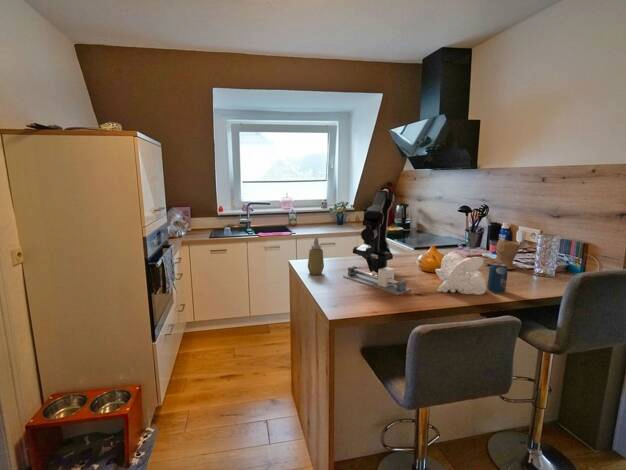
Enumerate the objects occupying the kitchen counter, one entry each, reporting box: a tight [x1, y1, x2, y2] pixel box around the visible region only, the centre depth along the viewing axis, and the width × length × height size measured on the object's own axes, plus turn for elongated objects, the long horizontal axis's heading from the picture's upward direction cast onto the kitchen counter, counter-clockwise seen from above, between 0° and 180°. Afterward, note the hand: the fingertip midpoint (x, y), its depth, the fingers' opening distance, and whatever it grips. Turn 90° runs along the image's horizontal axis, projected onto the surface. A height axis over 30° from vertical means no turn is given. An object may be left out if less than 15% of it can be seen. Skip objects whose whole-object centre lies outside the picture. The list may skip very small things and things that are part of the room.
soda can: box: [486, 262, 509, 294], centre depth 149 cm, size 7×7×12 cm
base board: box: [342, 274, 411, 296], centre depth 158 cm, size 31×9×1 cm, turn 41°
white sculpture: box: [435, 251, 487, 295], centre depth 150 cm, size 19×20×20 cm
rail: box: [347, 265, 407, 292], centre depth 158 cm, size 30×4×4 cm, turn 41°
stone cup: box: [483, 238, 520, 270], centre depth 189 cm, size 15×12×15 cm
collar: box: [377, 266, 395, 287], centre depth 153 cm, size 4×6×7 cm, turn 131°
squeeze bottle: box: [307, 236, 325, 276], centre depth 170 cm, size 8×8×18 cm
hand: (371, 271), depth 159 cm, fingers closed
